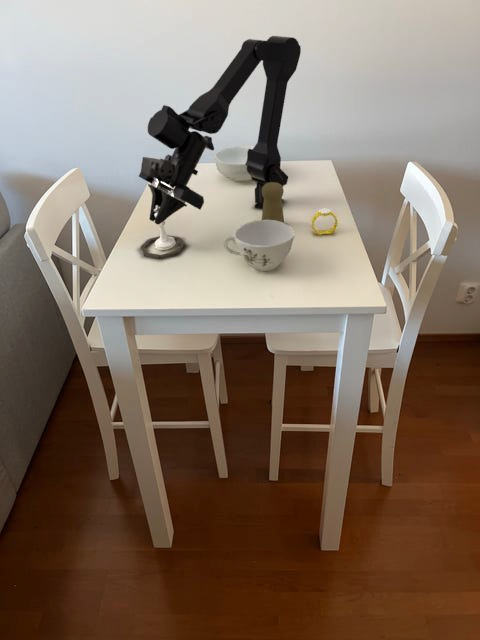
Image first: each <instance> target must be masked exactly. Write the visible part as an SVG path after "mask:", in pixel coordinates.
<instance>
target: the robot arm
mask: <svg viewBox="0 0 480 640" xmlns="http://www.w3.org/2000/svg"><path fill="white" fill-rule="evenodd" d="M301 47H302V46H301V45H300V44H299V40H298V39H296V38H295V37H292V36H280V35H272V36H269V37H268V38H267V40H261V39H254V38H248V39H246V40H244V41H243V42H242V44H241V47H240V49H239V51H238V52H237V54H236V55H235V56H234V58H233V59H232V61H231V62H230V63H229V64H228V66H227V67H226V68H225V70H224V71H223V73H222V74H221V75H220V76H219V79H218V80H217V81H216V82H215V83H214V85H213V86H212V87H211V89H210V90H208V91H206V92H204V93H203V94H200V96H198V97H197V98H196V99H195V100H194V101H193V102H192V103H191V104H190V105H189V107H188V109H187V110H185V111H183V112H181V113H177V112H176V111H175V109H173V108H172V107H171V106H170V105H166V104H163V105H162V107H161V109H160V110H158V111H156V113H154V114H153V116H151V117H150V119H149V120H148V123H147V134H148V135H149V136H150V137H152V139H155V141H156V140H157V141H158V142H159V143H161V144H162V145H164V146H166V147H167V148H168V149H171V150H173V152H172V155H171V154H166V155H165V157H164V158H154V157H147V156H143V157H142V159H141V167H140V172H139V173H138V177H139V178H140V179H142V180H144V181H146V182H147V186H148V187H149V189H150V192H151V205H150V211H149V221H151V222H154V224H155V225H156V224H158V225H159V224H160V223H161V222H163V221H166V220H167V219H168V218H169V217H171V216H172V215H173V214H175V213H176V212H178V211H180V210H181V209H182V208H184V207H185V208H186V207H187V206H188V204H189V205H190V206H192V207H194V208H195V209H198V210H199V211H201V210H202V207H203V206H204V203H205V197H204V196H203V195H201V194H199V193H198V192H196V191H195V190H193V189H192V188H191V187H189V186H188V184H189V182H190V180H191V178H192V176H193V175H194V176H198V173H199V171H198V170H197V169H196V168H197V166H198V164H199V162H200V160H201V158H202V156H203V154H204V152H205V150H206V149H207V150H209V151H214V150H215V145H214V143H213V138H212V137H211V136H208V135H202V134H201V133H200V132H203V133H206V134H209V135H213V134H217V133H218V132H219V131H220V130H221V129H222V127H223V125H224V124H225V122H226V120H227V118H228V116H229V108H230V105H231V103H232V101H234V99H235V97H237V95H238V93H239V92H240V91H241V89H242V88H243V86H244V85H245V84H246V83H247V81H248V79H249V78H250V77H251V75H252V74H253V73H254V71H255V70H256V68H258V66H259V65H260V63H261V62H262V67H263V70H264V74H265V77H266V81H265V82H266V83H265V88H264V89H265V90H264V96H263V103H262V110H261V116H260V123H259V129H258V130H259V131H258V136H257V137H258V138H257V142H256V144H255V145H254V146H253V147H254V148H253V149H248V152H247V161H246V164H245V165H247V172H248V173H249V175H250V176H251V178H252V180H251V181H252V182H256V183H255V188H254V203H255V204H254V208H255V209H262V210H263V203H264V197H263V196H262V188H263V186H264V185H265V184H266V183H270V182H276V183H279V184H281V185H282V187H283V188H284V186H286V185H287V184H288V180H289V176H288V174H286V173H285V171H284V170H283V169H281V165H282V164H281V163H282V162H281V161H282V157H281V154H280V150H279V147H278V142H279V136H280V130H281V126H282V125H281V122H282V117H283V111H284V106H285V101H286V93H287V88H288V83H289V81H290V79H292V77H293V76H294V74H295V72H296V71H297V68H298V65H299V61H300V58H301V50H302V49H301ZM190 129H191V130H193V131H190ZM281 201H282V204H284V203H285V199H284V198H283V196H282V197H281ZM156 205H158V207H160V209H159V211H158V213H157V216H156V217H155V216H154V214H155V213H156V212H157V211H156V212H155V211H154V209H156Z"/></svg>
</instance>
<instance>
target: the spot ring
mask: <svg viewBox="0 0 480 640" xmlns="http://www.w3.org/2000/svg"><path fill="white" fill-rule="evenodd" d="M167 236H169V237H173V238H174V239H175V242H177V243H178V245H179V246H178V247H177V248H176V249H175V250H174V251H171V252H167V253H163V254H157V253H152V252H148V250H147V247H148V246H150V245H151V244H152V243H155V241H156V240H157V239H159V238H160V235H158V236H155V237H151V238H148V239H147V240H146V241H145V242H143V243H142V244H141V245H140V247H139V248H140V251H141V253H142V255H143V256H144V257H145V258H150V259H155V260H164V259H169V258H172V257H175V256H177V255H179V254H180V253H181V252H183V250H184V249H185V248H186V244H185V242H184V241H183V239H182V237H180V236H174V235H167Z"/></svg>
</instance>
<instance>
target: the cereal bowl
mask: <svg viewBox="0 0 480 640" xmlns="http://www.w3.org/2000/svg"><path fill="white" fill-rule="evenodd" d="M254 147H255V146H252V145H238V146H229V147H226V148H222V149H220V150H218V151H217V152H216V153H215V155H214V163H215V167H216V169H217V171H218V172H219V173H220V174H221V175H222V176H224V177H226V178H228V179H231V180H232V181H235V182H239V183H240V182H250V181H252V178H251V176H250V175H249V173H248V172H247V165H245V164H246V161H247V152H248V149H253V148H254Z"/></svg>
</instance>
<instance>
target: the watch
mask: <svg viewBox="0 0 480 640" xmlns="http://www.w3.org/2000/svg"><path fill="white" fill-rule="evenodd" d="M320 216H322V217H327V216H332V218H334V224H333V226H332V227H331V228H330V229H327V230H321V231H320V230H317V229H316V228H315V221H316V220H317V218H319V217H320ZM338 225H339V224H338V218H337V216H336V214H335V213H334V212H333V211H331V209H330V208H326V207H324V208H320V209H319V210H318V212H317V213H315V214H314V215H313V217H312V219H311V229H312V230H313V232H314V233H315V234H316V235H318V236H322V235H329V234H330V235H331V234H333V233H334V232H335V231H336V229H337V227H338Z"/></svg>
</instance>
